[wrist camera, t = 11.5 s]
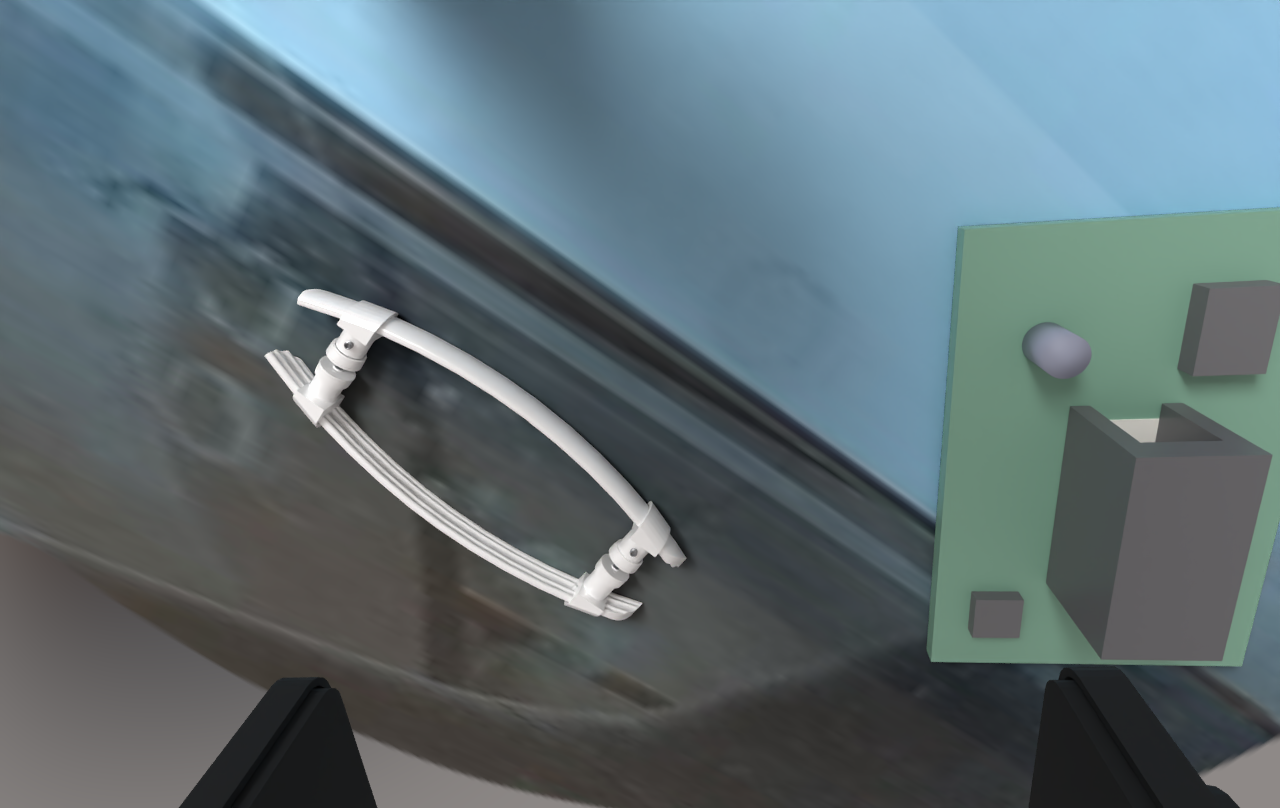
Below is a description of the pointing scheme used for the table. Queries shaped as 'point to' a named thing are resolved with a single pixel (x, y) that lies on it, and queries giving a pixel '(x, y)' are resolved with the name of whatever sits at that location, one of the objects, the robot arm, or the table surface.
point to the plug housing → (1154, 533)
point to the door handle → (323, 409)
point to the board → (1089, 400)
